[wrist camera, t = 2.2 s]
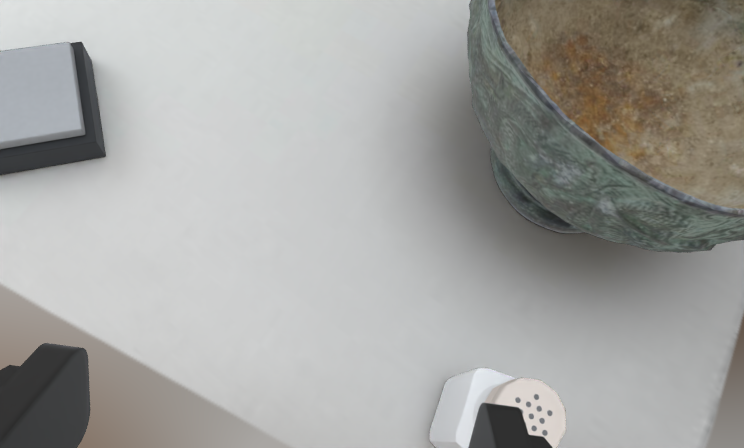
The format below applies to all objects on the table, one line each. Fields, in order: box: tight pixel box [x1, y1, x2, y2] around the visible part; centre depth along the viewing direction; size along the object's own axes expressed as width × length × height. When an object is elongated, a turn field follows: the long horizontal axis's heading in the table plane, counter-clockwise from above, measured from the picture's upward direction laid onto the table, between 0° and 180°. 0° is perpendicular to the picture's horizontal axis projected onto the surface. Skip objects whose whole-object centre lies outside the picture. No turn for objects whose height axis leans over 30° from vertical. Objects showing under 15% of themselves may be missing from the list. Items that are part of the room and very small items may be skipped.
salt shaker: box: [429, 368, 566, 448], centre depth 29 cm, size 4×4×10 cm
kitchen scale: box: [0, 42, 106, 175], centre depth 35 cm, size 7×7×3 cm
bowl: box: [467, 0, 744, 252], centre depth 34 cm, size 20×19×15 cm
